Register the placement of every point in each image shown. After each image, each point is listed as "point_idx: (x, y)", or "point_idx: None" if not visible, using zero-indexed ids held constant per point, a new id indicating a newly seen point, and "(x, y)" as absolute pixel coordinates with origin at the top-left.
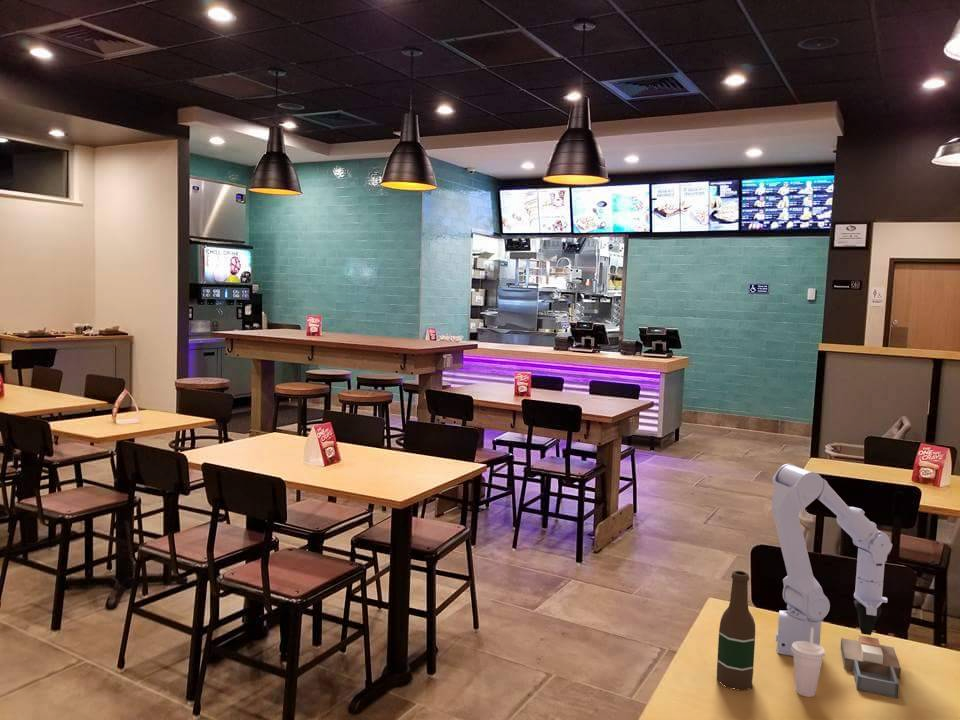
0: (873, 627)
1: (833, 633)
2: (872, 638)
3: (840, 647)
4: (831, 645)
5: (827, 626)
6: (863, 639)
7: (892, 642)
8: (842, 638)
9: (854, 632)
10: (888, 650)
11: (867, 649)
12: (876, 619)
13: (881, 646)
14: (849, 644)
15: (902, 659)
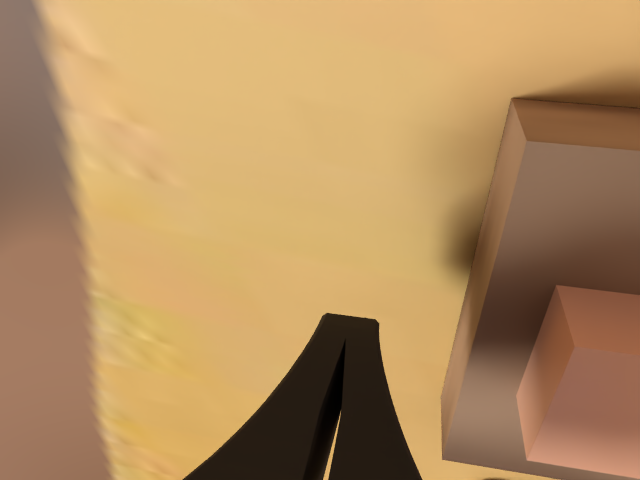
0: (380, 374)
1: (222, 379)
2: (582, 388)
3: (441, 400)
4: (415, 425)
5: (134, 383)
6: (626, 456)
7: (143, 25)
8: (448, 454)
9: (126, 269)
10: (630, 211)
11: None
12: (416, 474)
13: (532, 249)
14: None
15: (527, 9)
